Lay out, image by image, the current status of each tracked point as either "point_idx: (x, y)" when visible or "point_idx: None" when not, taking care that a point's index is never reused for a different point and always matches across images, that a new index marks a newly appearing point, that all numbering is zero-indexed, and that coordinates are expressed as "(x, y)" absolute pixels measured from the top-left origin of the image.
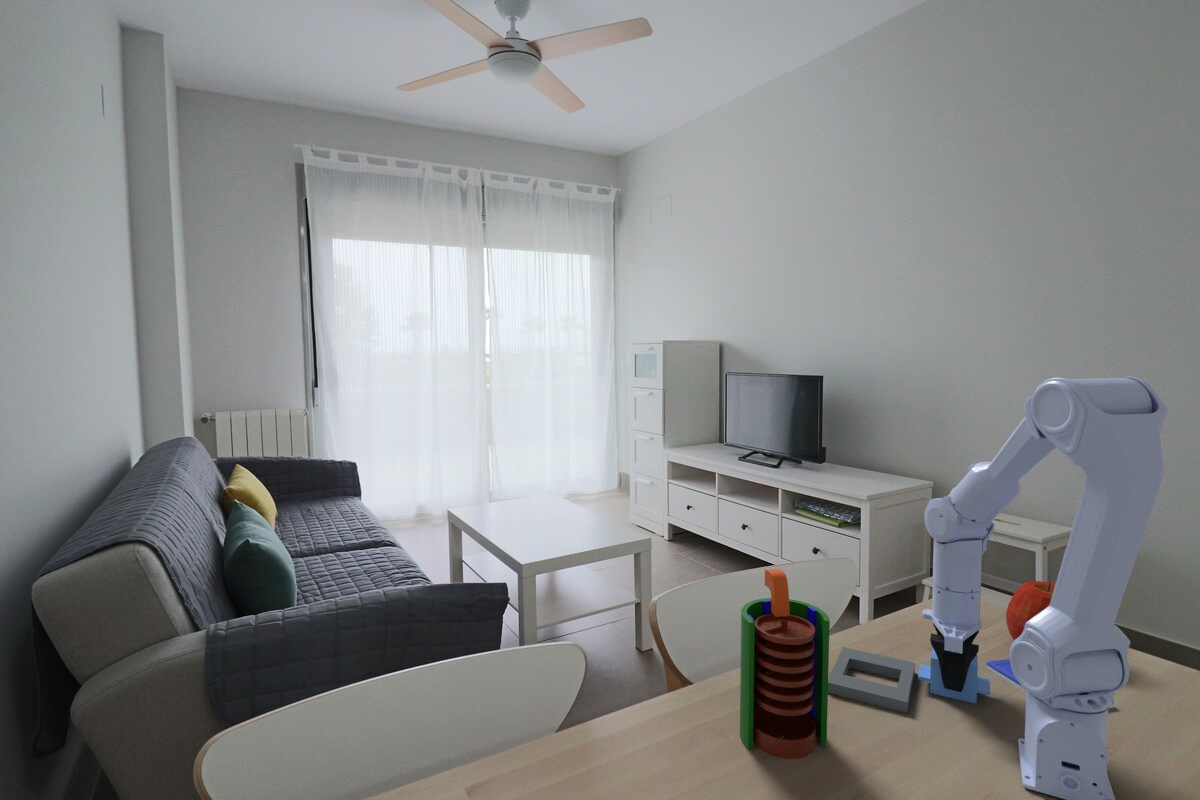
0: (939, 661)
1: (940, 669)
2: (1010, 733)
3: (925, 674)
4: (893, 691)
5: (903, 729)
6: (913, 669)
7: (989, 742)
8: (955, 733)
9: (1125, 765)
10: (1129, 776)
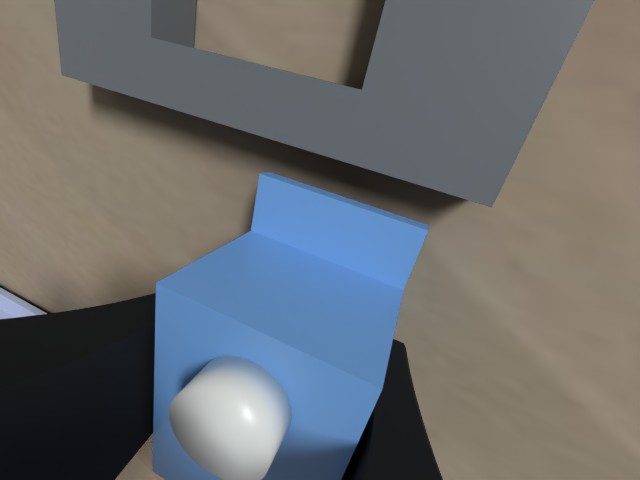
0: (70, 312)
1: (153, 294)
2: None
3: (291, 220)
4: (109, 12)
5: (27, 55)
6: (383, 172)
7: (91, 286)
8: (85, 216)
9: (139, 476)
10: None
